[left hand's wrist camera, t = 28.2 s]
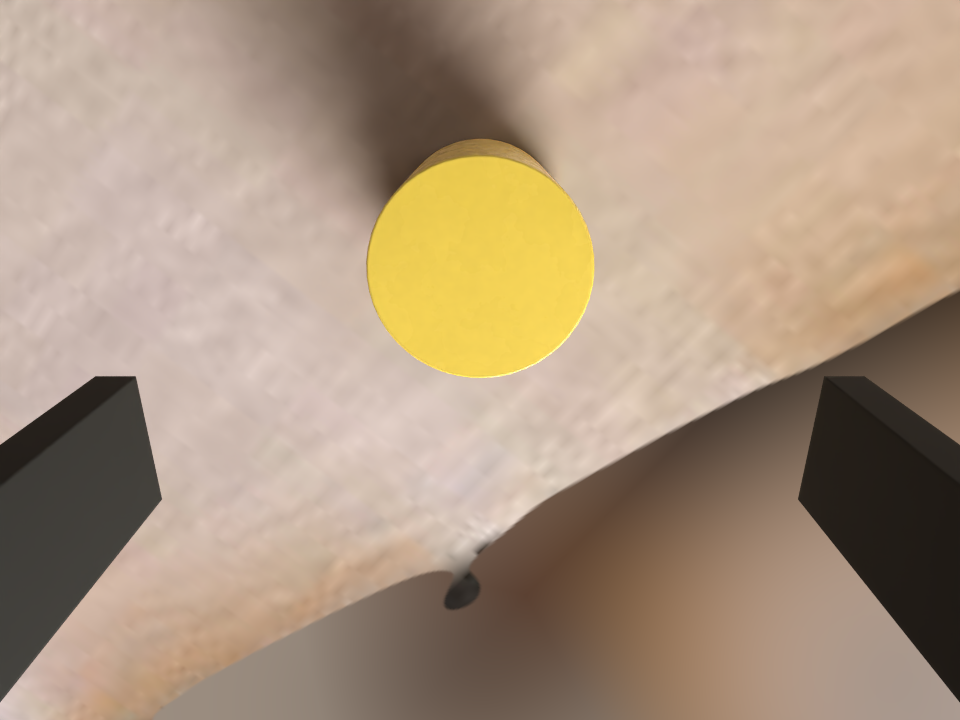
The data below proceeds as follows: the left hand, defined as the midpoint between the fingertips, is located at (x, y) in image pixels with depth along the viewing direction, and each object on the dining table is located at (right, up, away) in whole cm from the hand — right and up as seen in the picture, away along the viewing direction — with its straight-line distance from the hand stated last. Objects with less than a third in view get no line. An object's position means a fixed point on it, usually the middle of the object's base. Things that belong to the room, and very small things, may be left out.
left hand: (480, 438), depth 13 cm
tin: (0, +9, +22) cm, 24 cm away
